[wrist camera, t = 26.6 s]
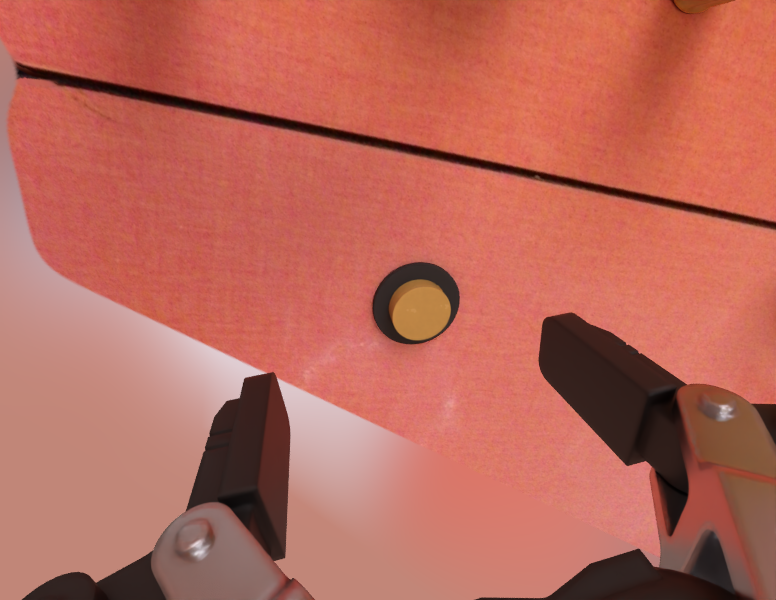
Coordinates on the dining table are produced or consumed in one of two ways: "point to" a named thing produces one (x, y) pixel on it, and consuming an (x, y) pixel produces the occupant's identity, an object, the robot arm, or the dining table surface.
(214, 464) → the robot arm
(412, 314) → the lid
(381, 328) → the coaster
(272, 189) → the dining table surface
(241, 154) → the dining table surface
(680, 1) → the vase
